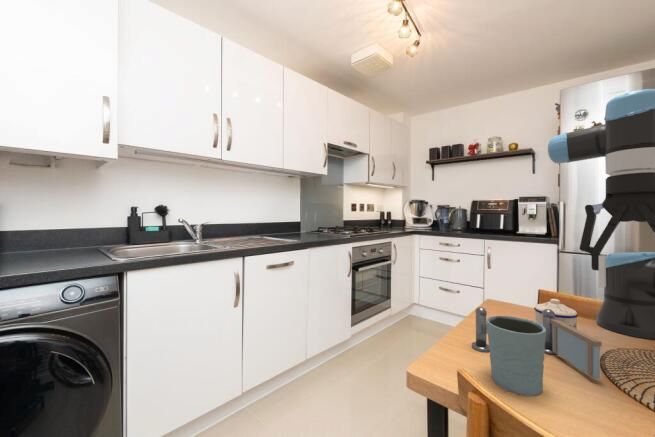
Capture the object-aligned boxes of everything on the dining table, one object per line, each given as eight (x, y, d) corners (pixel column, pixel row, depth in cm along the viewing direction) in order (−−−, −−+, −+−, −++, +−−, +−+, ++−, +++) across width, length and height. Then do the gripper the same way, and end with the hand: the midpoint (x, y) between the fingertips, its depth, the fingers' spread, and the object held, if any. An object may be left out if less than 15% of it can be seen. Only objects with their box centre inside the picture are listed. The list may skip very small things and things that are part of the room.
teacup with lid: (571, 354, 68) (571, 306, 68) (528, 340, 76) (528, 298, 76) (586, 342, 75) (586, 298, 75) (545, 330, 83) (545, 291, 83)
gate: (551, 350, 68) (551, 319, 68) (557, 350, 68) (557, 319, 68) (594, 379, 56) (594, 341, 56) (602, 379, 56) (601, 342, 56)
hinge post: (552, 347, 72) (551, 306, 72) (564, 355, 68) (564, 312, 68) (533, 346, 73) (533, 306, 73) (545, 354, 68) (545, 311, 68)
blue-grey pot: (519, 402, 51) (519, 336, 51) (475, 372, 60) (475, 317, 60) (559, 392, 53) (559, 329, 53) (511, 365, 63) (511, 312, 63)
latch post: (489, 344, 74) (489, 304, 74) (497, 352, 69) (497, 310, 69) (468, 343, 74) (468, 304, 74) (475, 351, 70) (475, 309, 70)
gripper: (722, 168, 49) (723, 299, 48) (567, 181, 65) (568, 279, 65) (728, 163, 44) (729, 308, 44) (559, 178, 60) (560, 284, 60)
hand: (633, 290), depth 54 cm, fingers open, 8 cm apart
